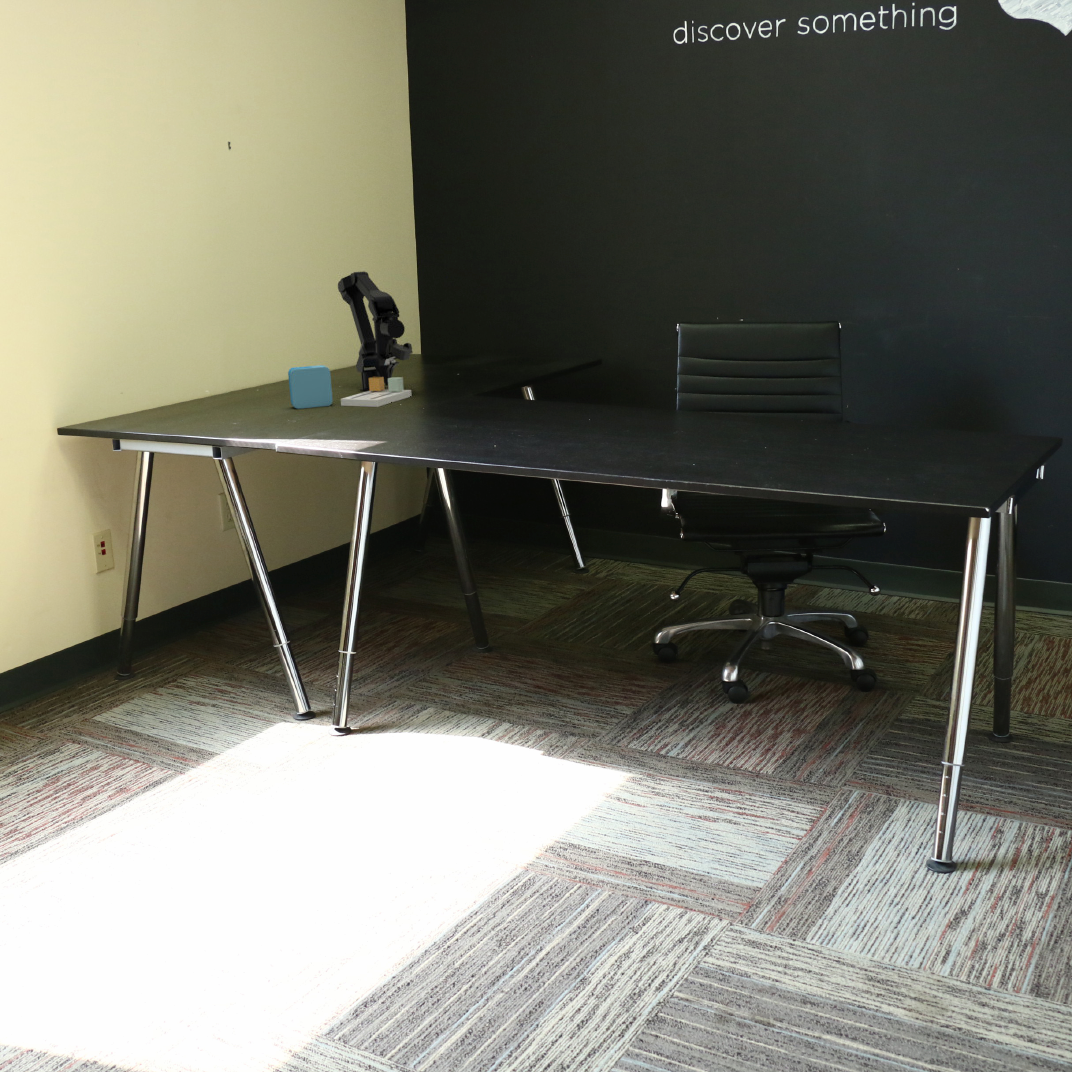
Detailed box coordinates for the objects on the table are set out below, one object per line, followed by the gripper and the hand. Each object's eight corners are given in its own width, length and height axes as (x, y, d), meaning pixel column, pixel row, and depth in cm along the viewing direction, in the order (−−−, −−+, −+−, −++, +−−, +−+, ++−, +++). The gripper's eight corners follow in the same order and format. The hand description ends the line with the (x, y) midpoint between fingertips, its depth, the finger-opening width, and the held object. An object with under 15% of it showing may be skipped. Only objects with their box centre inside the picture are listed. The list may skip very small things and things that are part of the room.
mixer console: (341, 405, 356) (340, 398, 356) (376, 395, 374) (375, 388, 373) (377, 406, 351) (377, 399, 350) (411, 396, 368) (411, 389, 368)
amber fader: (369, 390, 368) (368, 378, 367) (374, 389, 371) (373, 376, 369) (379, 391, 366) (378, 378, 365) (384, 389, 369) (383, 376, 368)
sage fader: (388, 391, 365) (387, 378, 364) (393, 389, 368) (392, 377, 367) (398, 391, 364) (397, 378, 362) (403, 390, 366) (402, 377, 365)
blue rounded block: (330, 403, 361) (326, 364, 358) (333, 405, 357) (329, 366, 354) (291, 407, 357) (287, 367, 354) (293, 409, 353) (289, 369, 350)
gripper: (390, 339, 358) (394, 390, 363) (421, 333, 375) (424, 381, 379) (359, 339, 363) (363, 389, 367) (391, 332, 379) (394, 380, 383)
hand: (387, 385), depth 374 cm, fingers closed
